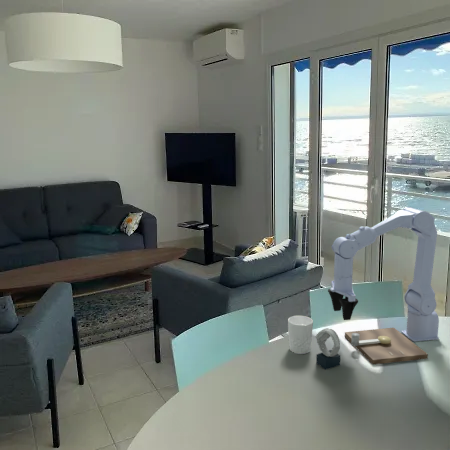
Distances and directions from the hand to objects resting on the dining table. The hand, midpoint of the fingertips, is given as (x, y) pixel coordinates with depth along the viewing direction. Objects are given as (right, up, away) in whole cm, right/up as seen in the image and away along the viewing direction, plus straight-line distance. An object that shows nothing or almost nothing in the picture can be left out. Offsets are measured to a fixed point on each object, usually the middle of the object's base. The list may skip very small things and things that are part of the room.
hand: (341, 314), depth 153 cm
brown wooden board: (+13, -10, -1) cm, 17 cm away
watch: (-7, -13, -11) cm, 18 cm away
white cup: (-14, -11, -1) cm, 18 cm away
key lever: (+9, -9, -2) cm, 12 cm away
